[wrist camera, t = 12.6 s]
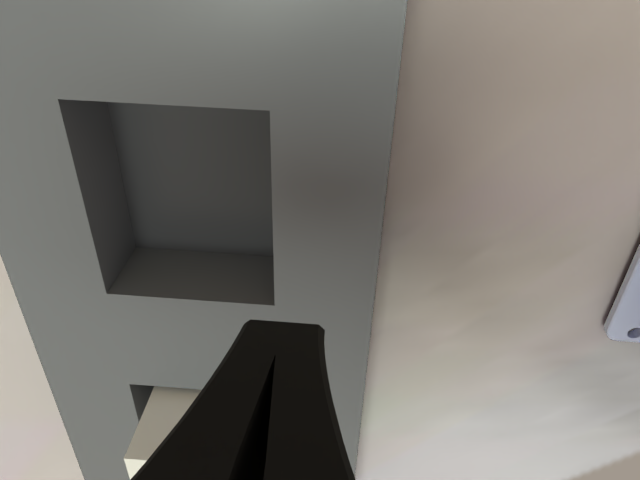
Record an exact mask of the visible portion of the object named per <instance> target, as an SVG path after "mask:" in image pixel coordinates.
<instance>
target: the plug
mask: <svg viewBox="0 0 640 480" xmlns="http://www.w3.org/2000/svg"><path fill="white" fill-rule="evenodd" d="M200 392H201V390H198V389H186V388H173V387H160V386H154V388H153V390H152V393H151V395H150V398H149V400H148V402H147V405H146V407H145V409H144V412H143V414H142V416H141V419H140V421H139V424H138V426H137V428H136V431H135V433H134V435H133V438H132V440H131V443H130V445H129V447H128V450H127V452H126V454H125V457H124V461H125V464H126V468H127V471H128V475H129V478H130V479H131V478H132V477H133V476H134V475H135V474H136V473H137V471H138V470H139V469H140V468H141V467H142V466H143V465H144V463H145V462H146V461H147V460H148V459H149V457H150V456H151V455H152V454H153V452H154V451H155V450H156V449H157V447H158V446H159V445H160V444H161V443H162V441H163V440H164V439H165V438H166V436H167V435H168V434H169V433H170V431H171V430H172V429H173V428H174V427H175V425H176V424H177V423H178V422H179V420H180V419H181V418H182V416H183V415H184V414H185V412H186V411H187V410H188V408H189V407H190V405H191V404H192V403H193V401H194V400H195V399H196V397H197V396H198V394H199V393H200Z"/></svg>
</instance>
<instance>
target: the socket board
mask: <svg viewBox="0 0 640 480" xmlns="http://www.w3.org/2000/svg"><path fill="white" fill-rule="evenodd" d="M406 9H407V0H0V255H1V257H2V260H3V263H4V265H5V268H6V271H7V273H8V276H9V279H10V281H11V284H12V287H13V289H14V292H15V295H16V297H17V300H18V303H19V305H20V308H21V311H22V313H23V316H24V319H25V321H26V324H27V327H28V329H29V332H30V335H31V337H32V340H33V343H34V345H35V348H36V351H37V354H38V356H39V359H40V362H41V364H42V367H43V370H44V372H45V375H46V378H47V380H48V383H49V386H50V388H51V391H52V394H53V396H54V399H55V402H56V404H57V407H58V410H59V412H60V415H61V418H62V420H63V423H64V426H65V428H66V431H67V434H68V436H69V439H70V442H71V444H72V447H73V450H74V452H75V455H76V458H77V460H78V463H79V466H80V469H81V471H82V474H83V477H84V479H85V480H130V478H129V475H128V471H127V468H126V464H125V461H124V457H125V454H126V452H127V450H128V447H129V445H130V443H131V440H132V438H133V435H134V433H135V431H136V428H137V426H138V424H139V421H140V419H141V416H142V414H143V412H144V409H145V407H146V405H147V402H148V400H149V398H150V395H151V393H152V390H153V388H154V386H160V387H173V388H186V389H198V390H202V389H203V388H204V386H205V385H206V383H207V382H208V381H209V379H210V378H211V376H212V375H213V373H214V372H215V370H216V369H217V367H218V366H219V364H220V363H221V361H222V360H223V358H224V357H225V355H226V354H227V352H228V351H229V349H230V347H231V346H232V344H233V342H234V341H235V339H236V337H237V336H238V334H239V332H240V330H241V328H242V327H243V325H244V323H246V322H247V321H249V320H250V319H251V320H265V321H279V322H293V323H306V324H319V325H320V326H321V327H322V328H323V329H324V330H325V337H324V347H325V359H326V367H327V373H328V379H329V384H330V390H331V394H332V399H333V404H334V407H335V411H336V415H337V419H338V423H339V427H340V431H341V434H342V438H343V442H344V445H345V448H346V452H347V455H348V458H349V461H350V464H351V468H352V471H353V474H354V477H355V470H356V461H357V452H358V443H359V434H360V425H361V416H362V407H363V398H364V389H365V380H366V371H367V362H368V353H369V344H370V335H371V326H372V317H373V307H374V298H375V289H376V280H377V271H378V262H379V253H380V244H381V235H382V226H383V217H384V208H385V199H386V190H387V181H388V172H389V163H390V154H391V145H392V136H393V127H394V118H395V108H396V99H397V90H398V81H399V72H400V63H401V54H402V45H403V36H404V27H405V18H406Z"/></svg>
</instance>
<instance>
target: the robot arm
mask: <svg viewBox="0 0 640 480" xmlns="http://www.w3.org/2000/svg"><path fill="white" fill-rule="evenodd" d="M633 328H636V329H634V330H632V331H629V330H631V329H633ZM604 330H605V333H606V334H607V336H608V338H610V339H611V340H615V341H626V342H640V244H639V246H638V249H637V251H636V253H635V255H634V258H633V260H632V262H631V265H630V267H629V269H628V271H627V274H626V276H625V278H624V281H623V283H622V285H621V287H620V290H619V292H618V294H617V297H616V299H615V301H614V303H613V306H612V308H611V310H610V313H609V315H608V317H607V319H606V322H605V324H604ZM324 337H325V330H324V329H323V328H322V327H321V326H320V325H319V324H306V323H293V322H279V321H265V320H251V319H250V320H249V321H247V322H246V323H244V325H243V327H242V328H241V330H240V332H239V334H238V336H237V337H236V339H235V341H234V342H233V344H232V346H231V347H230V349H229V351H228V352H227V354H226V355H225V357H224V358H223V360H222V361H221V363H220V364H219V366H218V367H217V369H216V370H215V372H214V373H213V375H212V376H211V378H210V379H209V381H208V382H207V383H206V385H205V386H204V388H203V389H202V390H201V392H200V393H199V394H198V396H197V397H196V399H195V400H194V401H193V403H192V404H191V405H190V407H189V408H188V410H187V411H186V412H185V414H184V415H183V416H182V418H181V419H180V420H179V422H178V423H177V424H176V425H175V427H174V428H173V429H172V430H171V431H170V433H169V434H168V435H167V436H166V438H165V439H164V440H163V441H162V443H161V444H160V445H159V446H158V447H157V449H156V450H155V451H154V452H153V454H152V455H151V456H150V457H149V459H148V460H147V461H146V462H145V463H144V465H143V466H142V467H141V468H140V469H139V470H138V471H137V473H136V474H135V475H134V476H133V477H132V478H131V479H130V480H355V477H354V474H353V471H352V468H351V464H350V461H349V458H348V455H347V452H346V448H345V445H344V442H343V438H342V434H341V431H340V427H339V423H338V419H337V415H336V411H335V407H334V404H333V399H332V394H331V390H330V384H329V379H328V373H327V367H326V359H325V347H324Z"/></svg>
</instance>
